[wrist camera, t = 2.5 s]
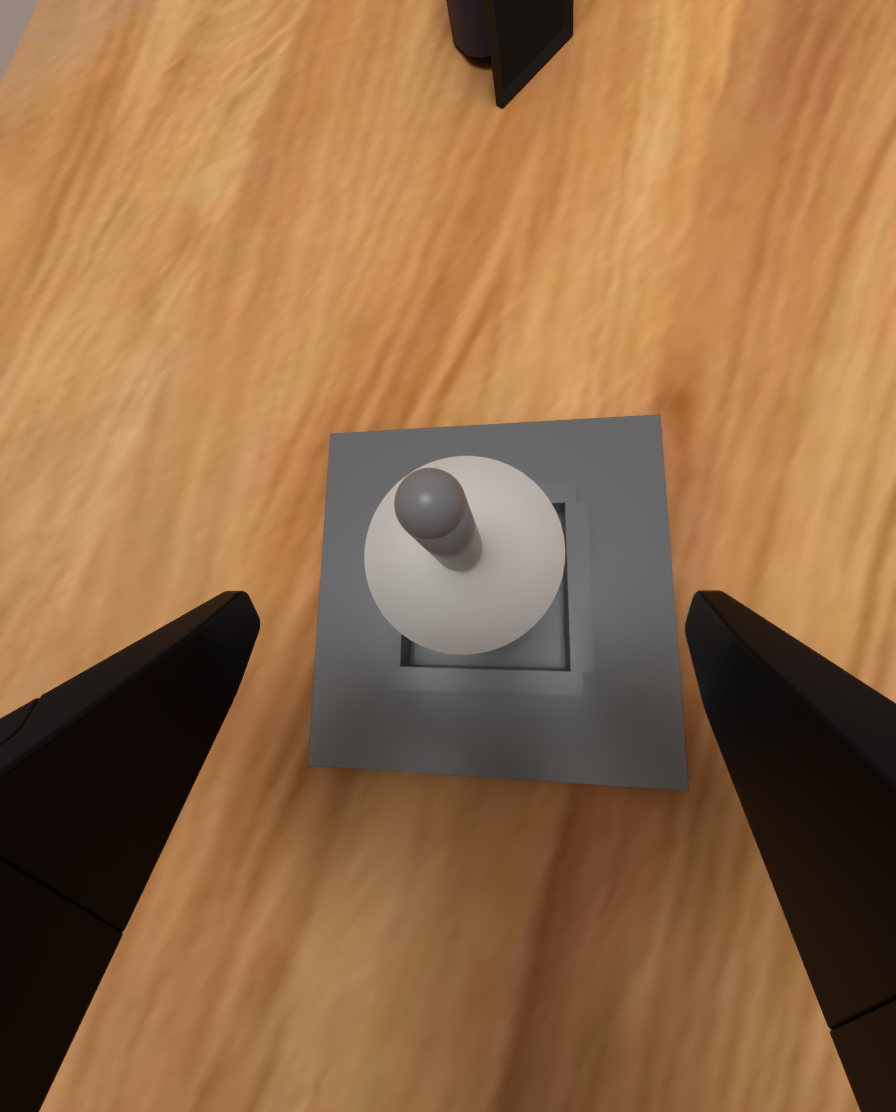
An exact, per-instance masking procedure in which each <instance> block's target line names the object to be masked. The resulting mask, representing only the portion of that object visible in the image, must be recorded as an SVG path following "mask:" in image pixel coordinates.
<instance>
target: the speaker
mask: <svg viewBox="0 0 896 1112" xmlns="http://www.w3.org/2000/svg"><path fill="white" fill-rule="evenodd" d="M446 1H447V7H448V13H449V19H450V24H451V30H452V36H453V42H454V44H455V45H456V46H458V47H459V48H460V49H461V50H462V51H463V52H464V53H466V54H467V55H468V56H469V57H480V58H484V57H488V56H491V63H492V71H493V79H494V87H495V95H496V103H497V106H499V107H502V108H503V107H504V106H505V105H506V104H507V103H508V102H509V101H510V100H511V99H512V97H513V96H514V95H515V94H516V93H517V92H518V91H519V90H520V89H521V88H522V87H523V86H524V85H525V84H526V83H527V82H528V81H529V80H530V79H531V78H532V77H533V76H534V75H535V73H536V72H537V71H538V70H539V69H540V68H541V67H542V66H543V65H544V64H545V63H546V62H547V61H548V60H549V59H550V58H551V57H552V56H553V55H554V54H555V53H556V52H557V50H558V49H559V48H560V47H561V46H562V45H563V44H564V43H565V42H566V41H567V40H568V39H569V38H570V37H571V36H572V35H573V0H446Z"/></svg>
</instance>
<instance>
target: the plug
mask: <svg viewBox="0 0 896 1112" xmlns="http://www.w3.org/2000/svg"><path fill="white" fill-rule="evenodd" d="M364 565H365V572H366V578H367V582H368V586H369V589H370V592H371V594H372V596H373V599H374V601H375V603H376V605H377V606H378V608H379V610H380V611H381V613H382V614H383V615H384V617H385V618H386V619H387V620H388V622H389V623H390V624H391V625H392V626H393V627H394V628H395V629H396V630H397V631H398V632H400V633H401V634H402V635H404V636H405V637H407V638H408V639H409V640H411V641H413V642H415V643H417V644H419V645H420V646H423V647H425V648H428V649H431V650H433V651H438V652H442V653H446V654H457V655H466V654H478V653H483V652H488V651H491V650H494V649H497V648H500V647H503V646H505V645H507V644H509V643H511V642H513V641H515V640H516V639H518V638H519V637H521V636H522V635H524V634H525V633H526V632H527V631H529V630H530V629H531V628H532V627H533V626H534V625H535V624H536V623H537V622H538V621H539V620H540V619H541V618H542V616H543V615H544V614H545V613H546V611H547V610H548V608H549V607H550V605H551V604H552V602H553V600H554V598H555V596H556V594H557V591H558V589H559V586H560V583H561V580H562V576H563V571H564V565H565V542H564V535H563V531H562V527H561V523H560V520H559V518H558V515H557V513H556V510H555V509H554V507H553V505H552V503H551V502H550V500H549V498H548V497H547V496H546V495H545V493H544V492H543V491H542V489H541V488H540V487H539V486H538V485H537V484H536V483H535V482H534V481H533V480H532V479H530V478H529V477H528V476H526V475H525V474H524V473H522V472H521V471H519V470H517V469H516V468H514V467H512V466H510V465H508V464H505V463H503V462H501V461H497V460H494V459H490V458H485V457H478V456H456V457H448V458H444V459H440V460H436V461H433V462H431V463H428V464H425V465H423V466H422V467H420V468H418V469H416V470H414V471H412V472H411V473H410V474H408V475H407V476H405V477H404V478H403V479H401V480H400V481H399V482H398V483H397V484H396V485H395V486H394V487H393V488H392V489H391V490H390V491H389V492H388V493H387V494H386V496H385V497H384V499H383V500H382V502H381V503H380V504H379V506H378V508H377V510H376V512H375V514H374V515H373V518H372V520H371V523H370V526H369V529H368V533H367V537H366V542H365V551H364Z"/></svg>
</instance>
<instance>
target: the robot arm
mask: <svg viewBox="0 0 896 1112" xmlns="http://www.w3.org/2000/svg"><path fill="white" fill-rule="evenodd" d="M259 630H260V619H259V616H258V614H257V612H256V610H255V608H254V605H253V603H252V601H251V599H250V597H249V595H248V594H247V593H246V592H244V591H225V592H223V593H221V594H219V595H218V596H216V597H214V598H212V599H211V600H209V601H207V602H205V603H203V604H202V605H200V606H198V607H196V608H195V609H193V610H191V611H189V612H188V613H186V614H184V615H182V616H181V617H179V618H177V619H175V620H174V621H172V622H170V623H168V624H166V625H165V626H163V627H161V628H159V629H158V630H156V631H154V632H152V633H151V634H149V635H147V636H145V637H144V638H142V639H140V640H138V641H137V642H135V643H133V644H131V645H130V646H128V647H126V648H124V649H122V650H121V651H119V652H117V653H115V654H114V655H112V656H110V657H108V658H107V659H105V660H103V661H101V662H100V663H98V664H96V665H94V666H93V667H91V668H89V669H87V670H85V671H84V672H82V673H80V674H78V675H77V676H75V677H73V678H71V679H70V680H68V681H66V682H64V683H63V684H61V685H59V686H57V687H56V688H54V689H52V690H50V691H48V692H47V693H45V694H43V695H42V696H41V697H40V698H36V699H34V700H32V701H31V702H29V703H27V704H25V705H24V706H22V707H20V708H18V709H17V710H15V711H13V712H11V713H9V714H8V715H6V716H4V717H2V718H0V1112H39V1110H40V1108H41V1106H42V1104H43V1102H44V1100H45V1098H46V1096H47V1094H48V1092H49V1089H50V1087H51V1085H52V1083H53V1081H54V1079H55V1077H56V1075H57V1073H58V1070H59V1068H60V1066H61V1064H62V1062H63V1060H64V1058H65V1056H66V1054H67V1051H68V1049H69V1047H70V1045H71V1043H72V1041H73V1039H74V1037H75V1035H76V1032H77V1030H78V1028H79V1026H80V1024H81V1022H82V1020H83V1018H84V1016H85V1013H86V1011H87V1009H88V1007H89V1005H90V1003H91V1001H92V999H93V997H94V994H95V992H96V990H97V988H98V986H99V984H100V982H101V980H102V977H103V975H104V973H105V971H106V969H107V967H108V965H109V963H110V961H111V958H112V956H113V954H114V952H115V950H116V948H117V946H118V944H119V942H120V939H121V937H122V935H123V933H122V932H123V931H124V930H125V928H126V926H127V924H128V922H129V920H130V918H131V916H132V914H133V911H134V909H135V907H136V905H137V903H138V901H139V899H140V897H141V895H142V892H143V890H144V888H145V886H146V884H147V882H148V880H149V878H150V876H151V873H152V871H153V869H154V867H155V865H156V863H157V861H158V859H159V857H160V854H161V852H162V850H163V848H164V846H165V844H166V842H167V840H168V838H169V835H170V833H171V831H172V829H173V827H174V825H175V823H176V821H177V819H178V817H179V814H180V812H181V810H182V808H183V806H184V804H185V802H186V800H187V798H188V795H189V793H190V791H191V789H192V787H193V785H194V783H195V781H196V779H197V776H198V774H199V772H200V770H201V768H202V766H203V764H204V762H205V760H206V757H207V755H208V753H209V751H210V749H211V747H212V745H213V743H214V741H215V738H216V736H217V734H218V732H219V730H220V728H221V726H222V724H223V722H224V719H225V717H226V715H227V713H228V711H229V709H230V707H231V705H232V703H233V700H234V698H235V696H236V694H237V691H238V689H239V686H240V683H241V681H242V678H243V675H244V672H245V670H246V667H247V664H248V661H249V658H250V655H251V653H252V650H253V647H254V644H255V641H256V639H257V636H258V633H259ZM685 635H686V639H687V643H688V647H689V651H690V655H691V658H692V662H693V666H694V670H695V674H696V678H697V682H698V686H699V690H700V694H701V697H702V701H703V704H704V708H705V711H706V714H707V717H708V719H709V722H710V725H711V727H712V730H713V733H714V735H715V738H716V740H717V743H718V745H719V748H720V751H721V753H722V756H723V758H724V761H725V763H726V766H727V769H728V771H729V774H730V776H731V779H732V781H733V784H734V787H735V789H736V792H737V794H738V797H739V799H740V802H741V805H742V807H743V810H744V812H745V815H746V817H747V820H748V822H749V825H750V828H751V830H752V833H753V835H754V838H755V840H756V843H757V846H758V848H759V851H760V853H761V856H762V858H763V861H764V864H765V866H766V869H767V871H768V874H769V876H770V879H771V882H772V884H773V887H774V889H775V892H776V894H777V897H778V900H779V902H780V905H781V907H782V910H783V912H784V915H785V918H786V920H787V923H788V925H789V928H790V930H791V933H792V935H793V938H794V941H795V943H796V946H797V948H798V951H799V953H800V956H801V959H802V961H803V964H804V966H805V969H806V971H807V974H808V977H809V979H810V982H811V984H812V987H813V989H814V992H815V995H816V997H817V1000H818V1002H819V1005H820V1007H821V1010H822V1013H823V1015H824V1018H825V1020H826V1023H827V1025H828V1027H829V1028H830V1029H832V1030H831V1031H830V1034H831V1037H832V1039H833V1042H834V1044H835V1047H836V1050H837V1052H838V1055H839V1057H840V1060H841V1062H842V1065H843V1068H844V1070H845V1073H846V1075H847V1078H848V1080H849V1083H850V1086H851V1088H852V1091H853V1093H854V1096H855V1098H856V1101H857V1104H858V1106H859V1109H860V1111H861V1112H896V703H894V702H893V701H891V700H890V699H888V698H887V697H885V696H883V695H882V694H880V693H879V692H877V691H876V690H874V689H873V688H871V687H870V686H868V685H866V684H865V683H863V682H862V681H860V680H859V679H857V678H856V677H854V676H853V675H851V674H850V673H848V672H846V671H845V670H843V669H842V668H840V667H839V666H837V665H836V664H834V663H833V662H831V661H829V660H828V659H826V658H825V657H823V656H822V655H820V654H819V653H817V652H816V651H814V650H812V649H811V648H809V647H808V646H806V645H805V644H803V643H802V642H800V641H799V640H797V639H795V638H794V637H792V636H791V635H789V634H788V633H786V632H785V631H783V630H782V629H780V628H779V627H777V626H775V625H774V624H772V623H771V622H769V621H768V620H766V619H765V618H763V617H762V616H760V615H758V614H757V613H755V612H754V611H752V610H751V609H749V608H748V607H746V606H745V605H743V604H741V603H740V602H738V601H737V600H735V599H734V598H732V597H731V596H729V595H728V594H726V593H724V592H722V591H718V590H701V591H698V592H696V593H695V594H694V596H693V599H692V602H691V606H690V609H689V613H688V616H687V619H686V623H685Z"/></svg>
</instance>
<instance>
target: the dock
mask: <svg viewBox="0 0 896 1112" xmlns="http://www.w3.org/2000/svg"><path fill="white" fill-rule="evenodd" d="M456 456H478V457H485V458H490V459H494V460H497V461H501V462H503V463H505V464H508V465H510V466H512V467H514V468H516V469H517V470H519V471H521V472H522V473H524V474H525V475H526V476H528V477H529V478H530V479H532V480H533V481H534V482H535V483H536V484H537V485H538V486H539V487H540V488H541V489H542V491H543V492H544V493H545V495H546V496H547V497H548V498H549V500H550V502H551V503H552V505H553V507H554V509H555V510H556V513H557V515H558V518H559V520H560V523H561V527H562V531H563V535H564V542H565V565H564V571H563V576H562V580H561V583H560V586H559V589H558V591H557V594H556V596H555V598H554V600H553V602H552V604H551V605H550V607H549V608H548V610H547V611H546V613H545V614H544V615H543V616H542V618H541V619H540V620H539V621H538V622H537V623H536V624H535V625H534V626H533V627H532V628H531V629H530V630H529V631H527V632H526V633H525V634H524V635H522V636H521V637H519V638H518V639H516V640H515V641H513V642H511V643H509V644H507V645H505V646H503V647H500V648H497V649H494V650H491V651H488V652H483V653H478V654H466V655H457V654H446V653H442V652H438V651H433V650H431V649H428V648H425V647H423V646H420V645H419V644H417V643H415V642H413V641H411V640H409V639H408V638H407V637H405V636H404V635H402V634H401V633H400V632H398V631H397V630H396V629H395V628H394V627H393V626H392V625H391V624H390V623H389V622H388V620H387V619H386V618H385V617H384V615H383V614H382V613H381V611H380V610H379V608H378V606H377V605H376V603H375V601H374V599H373V596H372V594H371V592H370V589H369V586H368V582H367V578H366V572H365V565H364V551H365V542H366V537H367V533H368V529H369V526H370V523H371V520H372V518H373V515H374V514H375V512H376V510H377V508H378V506H379V504H380V503H381V502H382V500H383V499H384V497H385V496H386V494H387V493H388V492H389V491H390V490H391V489H392V488H393V487H394V486H395V485H396V484H397V483H398V482H399V481H400V480H401V479H403V478H404V477H405V476H407V475H408V474H410V473H411V472H412V471H414V470H416V469H418V468H420V467H422V466H423V465H425V464H428V463H431V462H433V461H436V460H440V459H444V458H448V457H456ZM308 766H322V767H337V768H352V769H367V770H382V771H398V772H413V773H428V774H443V775H458V776H473V777H488V778H503V779H518V780H533V781H549V782H564V783H579V784H594V785H609V786H624V787H639V788H654V789H669V790H684V791H689V784H688V771H687V758H686V745H685V732H684V719H683V706H682V693H681V679H680V666H679V653H678V640H677V627H676V614H675V601H674V588H673V575H672V562H671V548H670V535H669V522H668V509H667V496H666V483H665V470H664V457H663V444H662V430H661V417H660V415H643V416H626V417H609V418H592V419H574V420H557V421H540V422H523V423H506V424H488V425H471V426H454V427H437V428H420V429H402V430H385V431H368V432H351V433H334V434H330V445H329V460H328V475H327V490H326V505H325V520H324V535H323V550H322V565H321V580H320V595H319V609H318V624H317V639H316V654H315V669H314V684H313V699H312V714H311V729H310V744H309V759H308Z"/></svg>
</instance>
